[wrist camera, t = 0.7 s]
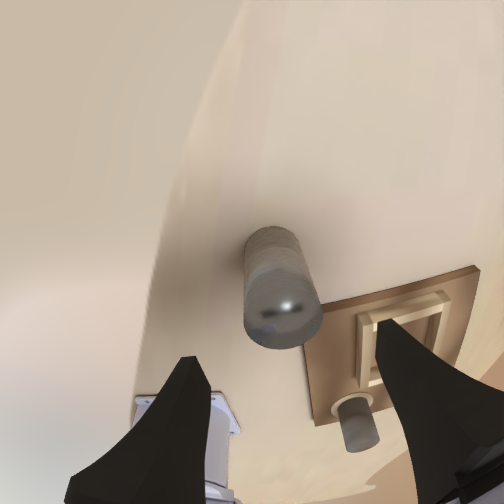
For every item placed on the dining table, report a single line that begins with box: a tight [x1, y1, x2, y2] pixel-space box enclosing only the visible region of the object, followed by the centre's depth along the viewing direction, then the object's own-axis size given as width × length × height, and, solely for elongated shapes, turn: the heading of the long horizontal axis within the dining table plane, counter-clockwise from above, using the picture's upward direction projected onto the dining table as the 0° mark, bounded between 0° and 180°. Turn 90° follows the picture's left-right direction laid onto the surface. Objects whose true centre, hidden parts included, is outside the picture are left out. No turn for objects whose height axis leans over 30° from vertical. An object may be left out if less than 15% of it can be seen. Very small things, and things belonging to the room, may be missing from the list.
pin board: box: [303, 265, 480, 453], centre depth 22 cm, size 16×16×6 cm
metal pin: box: [244, 226, 323, 349], centre depth 16 cm, size 4×4×7 cm
